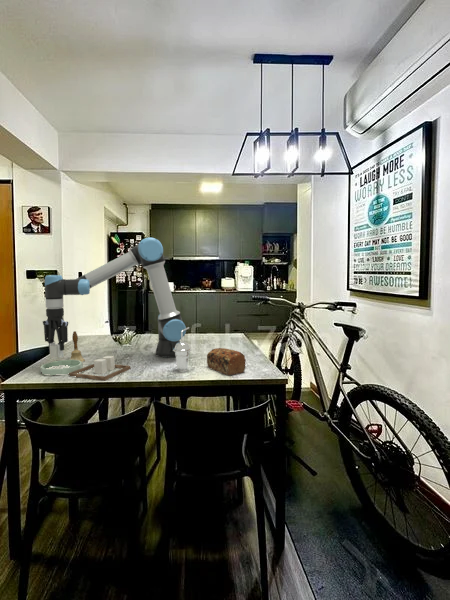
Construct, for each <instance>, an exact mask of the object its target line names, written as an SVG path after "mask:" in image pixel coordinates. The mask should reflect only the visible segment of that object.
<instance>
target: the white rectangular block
mask: <svg viewBox="0 0 450 600" xmlns="http://www.w3.org/2000/svg"><path fill="white" fill-rule="evenodd" d="M60 358H62V357H60ZM60 358H58V343H55V344H54V345H50V349H49V359H55V360H56V359H60Z"/></svg>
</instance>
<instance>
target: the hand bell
mask: <svg viewBox="0 0 450 600" xmlns="http://www.w3.org/2000/svg"><path fill="white" fill-rule="evenodd" d="M78 340H79V337H78V333H77V331H73V333H72V341H73V348H74V349H73V350H72V351H71V355H70V359H69V360H79V361H81V362H82V363H84V362H85V361H86V360H85V358H84V357H83V356H82V352H81V350H79V347H78ZM83 361H84V362H83Z"/></svg>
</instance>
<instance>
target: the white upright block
mask: <svg viewBox="0 0 450 600" xmlns="http://www.w3.org/2000/svg"><path fill="white" fill-rule="evenodd" d="M102 359H107V371H109V370H111V371H113V370H114V368H115V364H116V363H115V361H116V360H115V355H105V356H103V357H102ZM115 369H116V368H115Z"/></svg>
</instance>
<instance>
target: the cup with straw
mask: <svg viewBox="0 0 450 600" xmlns="http://www.w3.org/2000/svg"><path fill="white" fill-rule="evenodd" d="M189 329H190V327H189V326H188V327H186V329H184V330H182V331H181V339H180V342H178V343H177V344H176V345H175V348H173V351H174V352H175V362H176V369H177V372H180V373H184V372H187V371H188V368H189V367H188V366H189V357H190V351H192V348H191V347H190V345H189V343H188V342H186V341H184V337H183V331H185V330H186V331H187V330H189Z"/></svg>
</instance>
